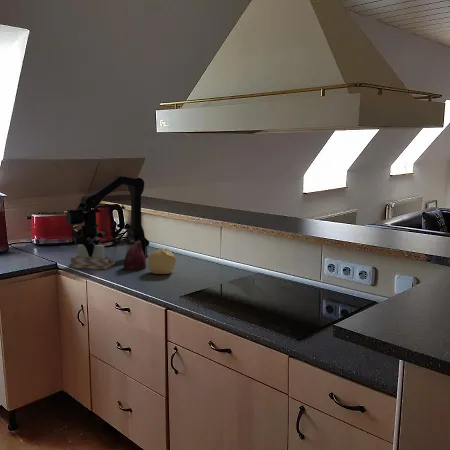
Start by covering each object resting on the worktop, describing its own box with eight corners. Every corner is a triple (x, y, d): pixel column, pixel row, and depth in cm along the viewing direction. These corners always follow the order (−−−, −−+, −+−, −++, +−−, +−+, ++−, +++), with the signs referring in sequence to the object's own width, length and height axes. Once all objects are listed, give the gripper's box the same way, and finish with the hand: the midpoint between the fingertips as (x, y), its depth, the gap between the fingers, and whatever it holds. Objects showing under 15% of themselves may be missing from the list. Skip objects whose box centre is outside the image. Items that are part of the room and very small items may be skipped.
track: (114, 263, 227) (114, 255, 226) (105, 269, 217) (105, 260, 216) (79, 262, 230) (79, 253, 229) (68, 267, 220) (68, 258, 220)
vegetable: (149, 274, 221) (157, 243, 219) (133, 276, 213) (142, 244, 210) (133, 265, 227) (141, 235, 224) (117, 266, 218) (125, 235, 215)
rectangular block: (104, 259, 223) (104, 245, 222) (102, 261, 221) (101, 246, 220) (80, 258, 225) (80, 244, 224) (78, 260, 223) (77, 245, 222)
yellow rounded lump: (179, 274, 208) (178, 250, 206) (151, 277, 203) (151, 252, 202) (172, 268, 218) (171, 245, 217) (145, 271, 214) (145, 247, 212)
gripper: (83, 219, 231) (85, 251, 233) (63, 225, 213) (65, 260, 215) (105, 219, 229) (106, 252, 231) (87, 226, 211) (88, 261, 213)
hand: (91, 256), depth 223 cm, fingers closed on rectangular block, 2 cm apart
